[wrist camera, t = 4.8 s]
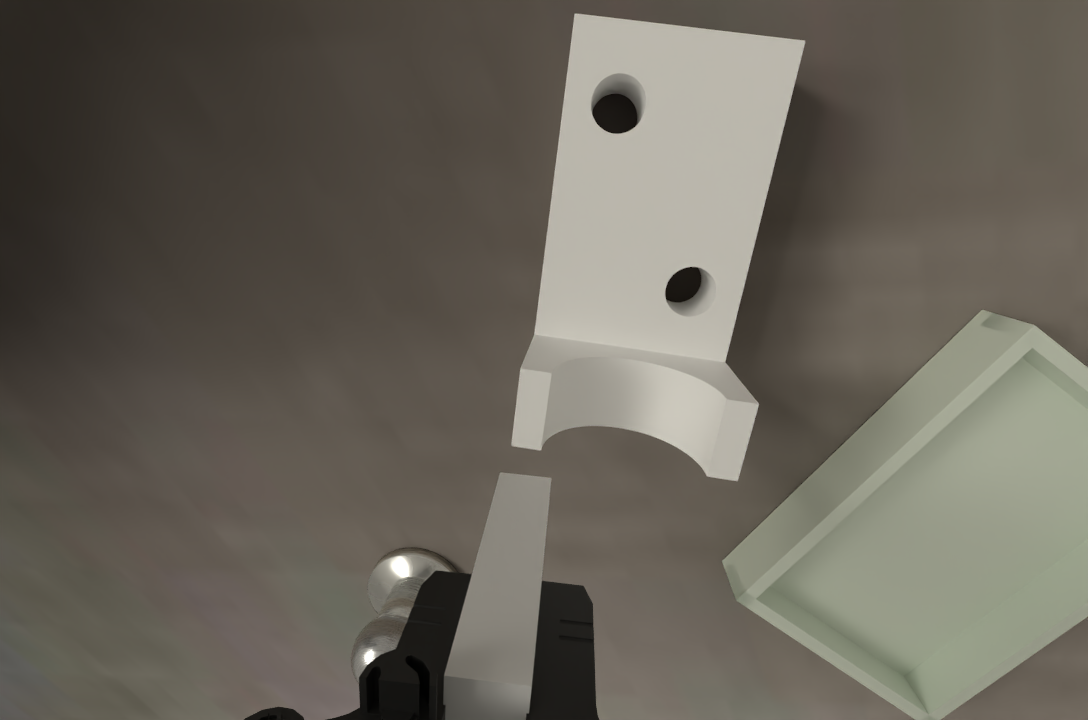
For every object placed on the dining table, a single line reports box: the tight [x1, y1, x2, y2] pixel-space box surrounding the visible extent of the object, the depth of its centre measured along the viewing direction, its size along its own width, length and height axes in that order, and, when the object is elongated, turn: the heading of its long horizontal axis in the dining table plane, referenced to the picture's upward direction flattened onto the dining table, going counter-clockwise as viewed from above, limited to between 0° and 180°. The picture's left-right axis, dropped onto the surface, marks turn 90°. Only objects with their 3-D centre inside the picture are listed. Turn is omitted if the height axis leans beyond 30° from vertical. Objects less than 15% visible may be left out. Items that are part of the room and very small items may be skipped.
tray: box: [722, 310, 1088, 720], centre depth 23 cm, size 12×16×3 cm
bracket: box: [511, 13, 805, 481], centre depth 18 cm, size 13×7×8 cm, turn 173°
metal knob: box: [351, 548, 458, 683], centre depth 25 cm, size 5×5×6 cm
